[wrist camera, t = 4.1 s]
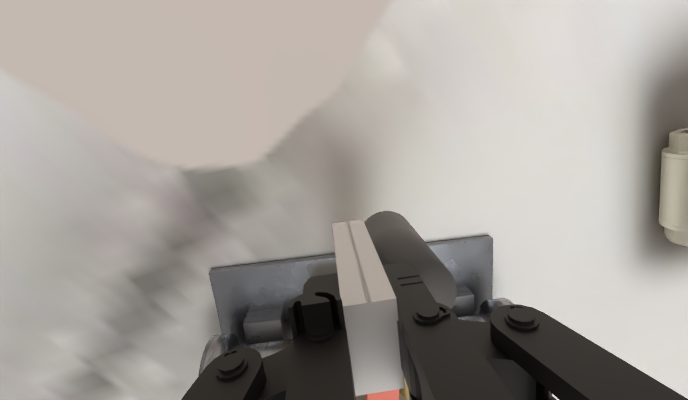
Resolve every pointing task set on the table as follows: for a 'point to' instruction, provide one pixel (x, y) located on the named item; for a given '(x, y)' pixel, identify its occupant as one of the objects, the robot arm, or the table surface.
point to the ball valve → (675, 188)
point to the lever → (407, 246)
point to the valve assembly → (290, 275)
